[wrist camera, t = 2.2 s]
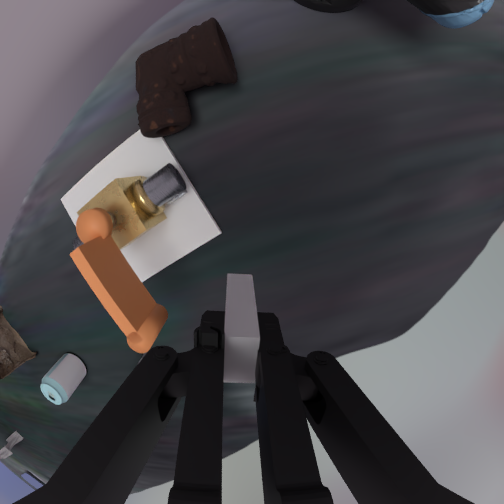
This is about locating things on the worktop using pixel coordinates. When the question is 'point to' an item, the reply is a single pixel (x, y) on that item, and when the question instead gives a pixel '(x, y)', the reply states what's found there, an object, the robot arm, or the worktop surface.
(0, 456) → the test tube rack
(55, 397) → the can
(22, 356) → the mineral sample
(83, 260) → the lever
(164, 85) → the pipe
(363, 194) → the worktop surface
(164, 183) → the valve
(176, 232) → the mount board
